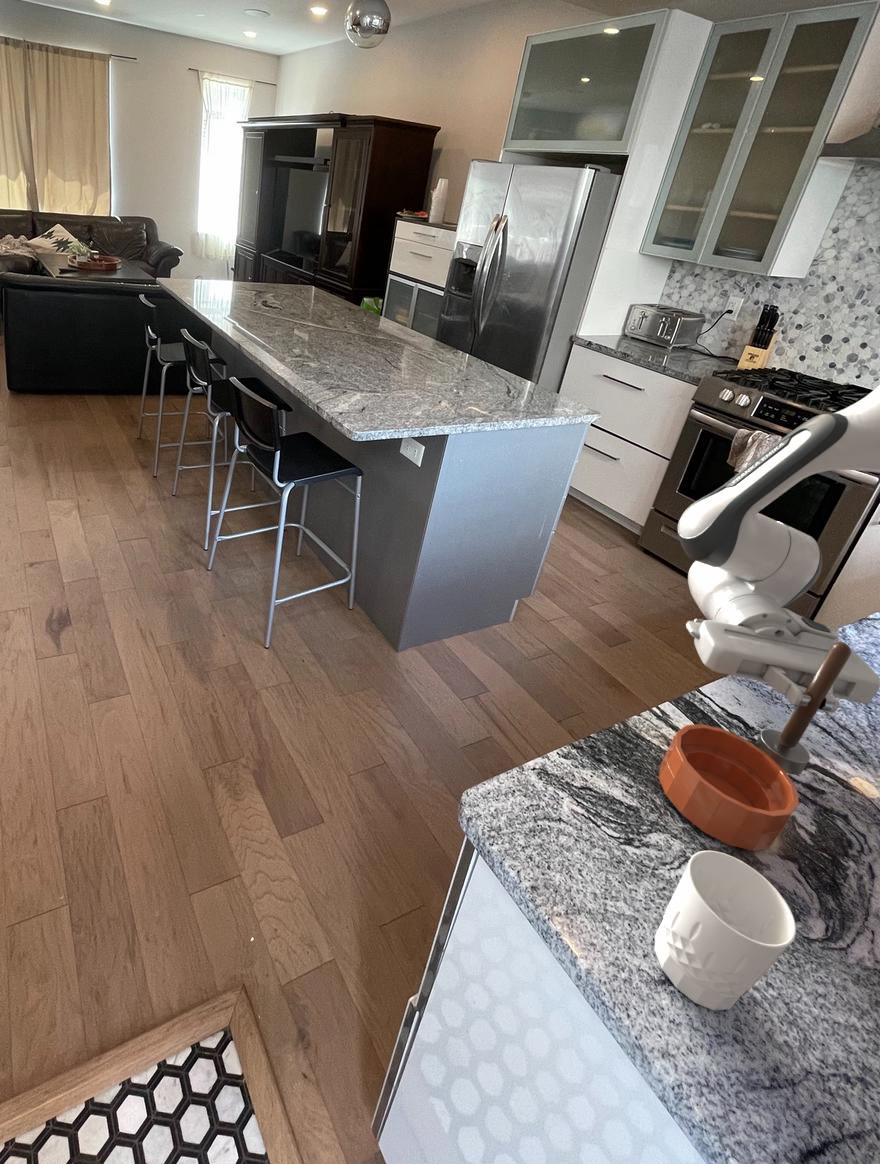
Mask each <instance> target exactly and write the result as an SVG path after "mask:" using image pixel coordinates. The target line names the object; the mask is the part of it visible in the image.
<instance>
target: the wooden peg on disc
mask: <svg viewBox="0 0 880 1164" xmlns="http://www.w3.org/2000/svg"><path fill="white" fill-rule="evenodd" d="M851 649H852V647H850V646H849V645H848V643H845V642H842V641H839V642H837V643H834V644H833V645H832V647H831V648H830V650H829V652H828V653H827V655H826V657H825V659H824V660H823V662H822V664H821V666H820V667H819V669H818V671H817V672H816V674H815V676H814V678H813V679H812V681H811V683H810V684H809V686H808V688H807V692H808V693H809V694H810V695H811V700H810V702H808V705H807V706H806V707H804V706H799V705H796V707H795V709H794V710H793V712H792V714H791V715H790V717H789V719H788V721H787V723H786V724H785V726H784V728H783V729H782V731H779V730H776V729H770V728H769V729H763V730H762V731H761V732H760V733H759V735H758V737H757V739H756V741H755V742H754V746H756V747H757V748H759V749H760V750H762V751H763V752H765V753H766V754H768V755H769V756H770V757H771V758H772V759H773V760H774V761H775V762H776V763H777V764H778V765H779V766H780V767H781V768H782V769H783V770H785V772H786V773H787V774H789V775H800V774H802V773H803V772H804V770H805V769H806V767H807V765H808V764H809V762H810V760H811V756H810V753H809V752H808V750H807V749H806V748H805V746H804V745H802V743H801V742H800V740H801V739H802V737H803V736H804V734H805V732H806V730H807V729H808V727H809V726H810V724H811V722H812V720H813V719H814V717H815V715H816V714H817V712H818V710H819V707H820V705H821V704H822V702H823V700H824V699H825V697H826V695H827V694H828V692H829V690H830V689H831V687H832V685H833V684H834V682H835V680H836V679H837V677H838V675H839V674H840V672H841V670H842V669H843V667H844V665H845V664H846V662H847V660H848V659H849V657H850V655H851V653H852V651H851Z"/></svg>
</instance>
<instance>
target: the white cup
mask: <svg viewBox="0 0 880 1164" xmlns="http://www.w3.org/2000/svg"><path fill="white" fill-rule="evenodd" d="M796 935H797V924H796V920H795V917H794V914H793V912H792V910H791V908H790V906H789V904H788V902H787V901H786V899H784V897H783V896H782V895H781V893H780V892H779V890H778V889H777V888H776V887H775V886H774V885H773V884H772V883H771V882H770V881H769V880H768V879H767V878H765V877H764V875H763V874H761V873H760V872H759V871H758V870H756V869H754V868H753V867H752V866H750V865H749V864H747V863H746V862H744V861H742V860H740V859H738V858H737V857H735V856H732V855H730V854H726V853H724V852H720V851H717V850H701V851H698V852H695V853H694V854H693V855H692V856H691V857H690V859H689V860H688V863H687V865H686V866H685V869H684V871H683V873H682V875H681V877H680V879H679V881H678V883H677V885H676V887H675V889H674V891H673V894H672V896H671V898H670V901H669V903H668V905H667V907H666V909H665V911H664V914H663V918H662V921H661V923H660V925H659V927H658V928H657V931H656V932H655V936H654V953H655V955H656V958H657V960H658V963H659V965H660V968H661V970H662V972H664V974H665V975H666V977H667V978H668V979H669V980H670V982H671V984H672V985H673V986H674V987H675V988H676V989H677V990H679V992H680V993H682V994H683V995H685V996H686V997H687V998H688V999H690V1000H691V1001H692V1002H693V1003H695V1004H697V1005H699V1006H701V1007H704V1008H706V1009H709V1010H712V1011H724V1010H730V1009H731V1008H732V1007H733V1006H734V1005H735V1004H736V1003H737V1001H738V1000H739V999H740V998H741V997H742V996H744V994H745V993H746V992H748V991H749V990H751V989H752V988H753V987H754V985H756V984H757V983H758V982H759V981H760V979H761V978H762V977H763V976H764V975H766V974H767V972H769V970H770V969H771V968H772V966H773V965H774V964H775V963H776V961H778V959H779V958H780V957H781V956H782V955H783V954H784V952H785V951H786V950H788V948H789V947H790V945H792V943H793V942H794V940H795V939H796Z"/></svg>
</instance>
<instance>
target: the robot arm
mask: <svg viewBox="0 0 880 1164" xmlns="http://www.w3.org/2000/svg"><path fill="white" fill-rule="evenodd" d="M829 471H862V472H870V473H879V474H880V384H879V385H877V386H876V388H874V389H873V390H872V391H871V392H869V393H868V394H867V395H866V396H864V397H863V398H861V399H860V400H858V401H856V402H855V403H852V404H851V405H849V406H847V407H845V408H843V409H840V410H838V411H836V412H833V413H822V414H818V415H816V416H813V417H811V418H809V419H808V420H806V421H805V422H803V423H802V424H800V425H799V426H797V427H796V428H795V429H793V430H792V431H790V432H789V433H788V434H786V435H785V436H784V437H783V438H781V439H780V440H778V441H777V442H776V443H775V444H774V445H772V446H771V447H769V449H767V450H766V451H764V452H763V453H762V454H761V455H760V456H758V457H756V459H754V460H753V461H752V462H750V464H747V466H746V467H744V468H743V469H742V470H741V471H739V472H738V473H737V474H736V475H734V476H733V477H731V478H730V479H729V480H728V481H727V482H725V483H724V484H722V485H721V486H720V487H718V488H717V489H715V490H713V491H712V492H710V493H708V494H707V495H704V496H703V497H701V498H700V499H697V500H696V501H695V502H693V503H692V504H690V505H689V506H688V507H687V508H686V509H685V511H683V512H682V514H681V516H680V518H679V521H678V523H677V536H678V540H679V542H680V545H681V547H682V549H683V551H684V553H685V555H686V556H687V557H688V558H689V559H691V560H693V561H694V562H693V563H692V564H691V566H690V568H689V570H688V573H687V583H688V588H689V592H690V594H691V596H692V598H693V600H694V603H695V604H696V605H697V606H698V609H699V610H700V612H701V613H702V614H703V616H704V617H705V618H706V619H705V620H704V619H702V618H693V620H687V621H686V622H685V627H686V629H687V631H688V633H689V634H690V635H691V636H692V637H693V638H694V639H693V644H694V647H695V649H696V652H697V655H698V656H699V658H700V660H701V662H702V664H703V665H704V666H705V667H706V668H708V669H709V670H710V671H713V672H715V673H719V674H724V675H729V676H733V677H736V678H737V677H738V678H744V679H748V680H751V681H757V682H761V683H765V684H767V686H769V687H770V688H772V689H774V690H775V691H777V692H779V694H781V695H783V696H785V697H786V699H787V700H788V701H789V702H790V704H791V705H795V706H797V705H799V706H804V707H806V706H807V705H808V702H810V700H811V695H810V694H809V693H808V692H807V688H808V686H809V684H810V683H811V681H812V679H813V678H814V676H815V674H816V672H817V671H818V669H819V667H820V666H821V664H822V662H823V660H824V659H825V657H826V655H827V653H828V652H829V650H830V648H831V647H832V645H833V644H834V643H837V642H840V641H839V638H840V634H839V633H838V632H837V630H835V629H834V628H832V627H831V626H829V625H827V624H826V625H825V624H823V623H821V622H818V621H814V620H811V619H809V618H807V617H804V616H802V615H799V614H797V613H796V612H794V611H792V610H790V609H788V608H785V607H787V606H788V605H789V604H791V603H793V602H795V601H796V600H798V599H799V598H800V597H802V596H803V595H805V594H806V593H807V592H809V590H810V589H811V588H812V587H813V586H814V585H815V583H816V582H817V581H818V579H819V577H820V575H821V572H822V568H823V555H822V549H821V548H820V547H821V546H820V545H819V543H818V541H817V540H816V539H815V538H814V537H813V536H811V535H809V534H807V533H805V532H804V531H803V532H802V531H801V530H798V529H796V528H794V527H792V526H790V525H788V524H786V523H783V522H781V521H778V520H775V519H774V518H770V517H768V516H766V515H764V514H762V513H759V512H760V511H762V510H764V509H765V507H767V506H768V505H770V504H771V503H772V502H774V501H775V500H776V499H778V498H780V496H783V494H784V493H786V492H787V491H788V490H790V489H791V488H792V487H794V486H796V484H798V483H799V482H801V481H803V480H804V479H806V478H809V477H810V476H812V475H816V474H819V473H824V472H829ZM851 651H852V653H851V655H850V657H849V659H848V660H847V662H846V664H845V665H844V667H843V669H842V670H841V672H840V674H839V675H838V677H837V679H836V680H835V682H834V684H833V685H832V687H831V689H830V690H829V692H828V694H827V695H826V697H825V699H824V700H823V702H822V704H821V705H820V707H819V709H818V710H819V711H823V712H828V713H832V714H834V713H836V712H837V710H838V709H839V707H840V701H839V700H838V699H841V700H845V701H851V702H854V703H859V704H862V705H863V704H864V705H868V704H869V703H871V702H872V700H873V699H874V697H876V695H877V694H878V692H879V690H880V677H879V675H878V674H877V672H876V671H874V669H873V668H872V667H871V666H870V665H869V664H868V663H867V662H866V661H865V660H864V659H863V658H862V657H861V656H860V655H859V654H858V653H857V652H856V651H855V650H854V649H852V648H851Z"/></svg>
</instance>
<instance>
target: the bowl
mask: <svg viewBox="0 0 880 1164" xmlns="http://www.w3.org/2000/svg"><path fill="white" fill-rule="evenodd" d="M658 770H659V771H658V780H659V782H660V785H661V787H662V789H663V793H664V795H665V796H666V797H667V798H668V800H669V801H670V802H671V803H672V804H673V806H674V807H675V808H676V810H677V811H678V812H679V813H680V814H681V815H682V817H684V818H686V820H688V821H689V822H691V823H692V824H693V825H694V826H695V827H697V828H698V829H699V830H700V831H702V832H703V833H705V834H707V835H709V836H711V837H713V838H714V839H716V840H718V841H720V842H722V843H724V844H726V845H728V846H731V847H735V848H736V847H737V848H740V849H744V850H748V851H752V852H754V851H758V850H765V849H770V848H771V847H772V846H773V845H774V843H775V842H776V841H777V840H778V838H779V837H780V835H781V833H783V831H784V829H785V827H786V826H787V824H788V823H789V821H790V819H791V818H792V816H793V815H794V814H795V812H796V811H797V809H798V808H799V806H800V800H799V794H798V788H797V787H796V785H795V783H794V782H793V781H792V778H790V776H789V775H788V773H786V772H785V770H783V769H782V768H781V767H780V766H779V765H778V764H777V763H776V762H775V761H774V760H773V759H772V758H771V757H770V756H769V755H768V754H766V753H765V752H763V751H762V750H760V749H759V748H757V747H756V746H755V744H753V743H751V742H750V741H748V740H747V739H745V738H743V737H741V736H739V735H736V734H734V733H733V732H730V731H728V730H725V729H723V728H719V727H716V726H711V725H708V724H703V723H698V724H687V725H684V726H683V727H681V729H679V730H678V731H676V733H675V734H674V737H673V739H672V740H671V742H670V744H669V746H668V748H667V750H666V752H665V753H664V756H663V759H662V760H661V762H660V764H659V769H658Z"/></svg>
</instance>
